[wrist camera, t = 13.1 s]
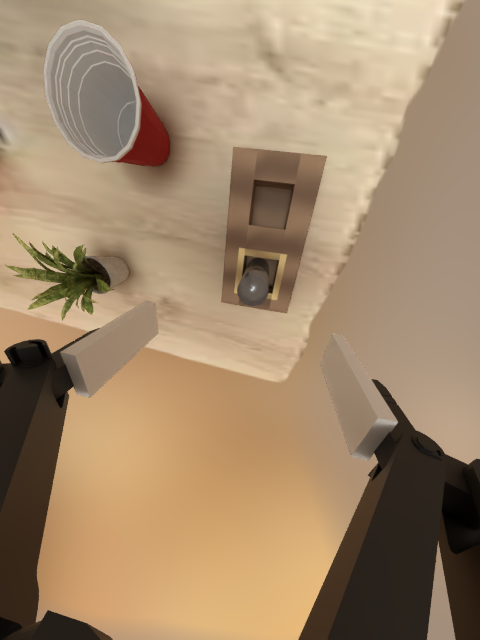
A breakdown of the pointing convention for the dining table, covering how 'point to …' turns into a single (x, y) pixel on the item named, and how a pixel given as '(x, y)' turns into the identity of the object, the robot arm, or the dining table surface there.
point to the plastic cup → (100, 99)
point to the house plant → (73, 276)
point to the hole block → (269, 219)
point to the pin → (254, 283)
